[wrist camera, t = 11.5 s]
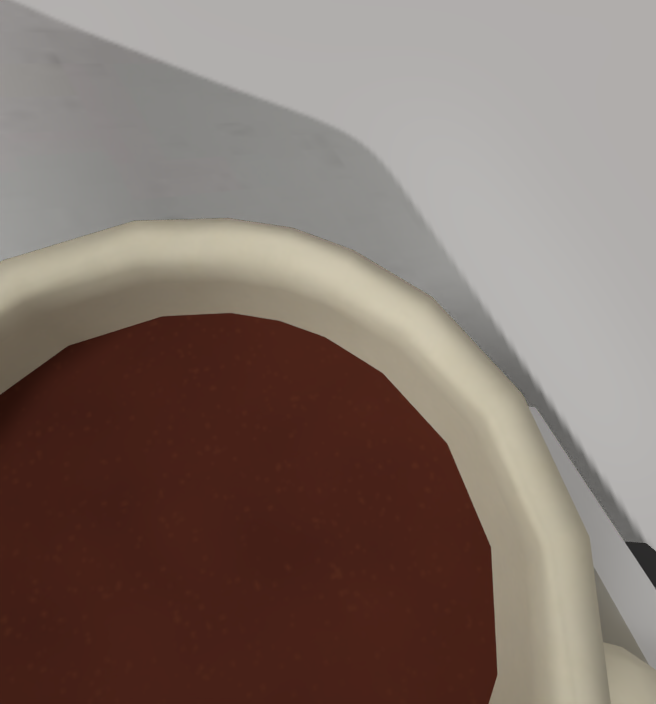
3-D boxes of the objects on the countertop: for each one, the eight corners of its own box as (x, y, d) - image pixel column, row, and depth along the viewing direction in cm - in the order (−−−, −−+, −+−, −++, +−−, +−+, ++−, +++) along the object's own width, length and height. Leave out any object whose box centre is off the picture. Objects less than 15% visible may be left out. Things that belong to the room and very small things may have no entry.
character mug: (451, 493, 18) (831, 359, 6) (409, 756, 15) (925, 1550, 3) (115, 406, 18) (-240, 84, 6) (19, 654, 15) (-983, 1040, 3)
